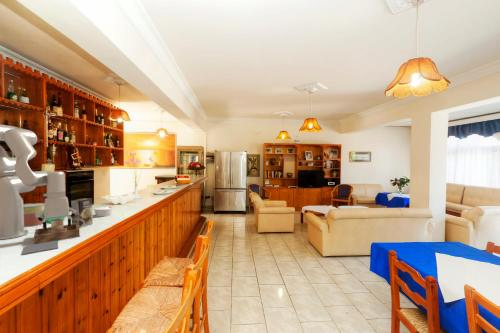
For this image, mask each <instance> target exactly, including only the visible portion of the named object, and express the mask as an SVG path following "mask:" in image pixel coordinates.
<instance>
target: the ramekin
mask: <svg viewBox="0 0 500 333" xmlns="http://www.w3.org/2000/svg"><path fill="white" fill-rule="evenodd" d="M93 210H94V214H95V216H96V217H97V218H102V217H109V216H111V215H112V212H113V206H100V207H99V206H98V207H95V208H94V209H93Z"/></svg>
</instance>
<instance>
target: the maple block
mask: <svg viewBox="0 0 500 333" xmlns="http://www.w3.org/2000/svg"><path fill="white" fill-rule="evenodd" d="M64 225H65V224H64V217H59V218H51V219H50V227H51V233H54V232H61V231H64Z"/></svg>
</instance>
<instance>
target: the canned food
mask: <svg viewBox="0 0 500 333" xmlns="http://www.w3.org/2000/svg"><path fill="white" fill-rule="evenodd" d="M44 204H45V202H44V203H43V202H40V203H39V202H38V203H30V204H28V203H27V204H23V209H24V228H25V227H27V228H28V227H31V228H32V227H38V225H39V226H43V225H42V224H43V222H41V221H40V220H38V218H37V217H36V216H35V214H37V213H39V212H41V211H43V210H44ZM40 217H41V218H43V217H42V214H41V215H40Z"/></svg>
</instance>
